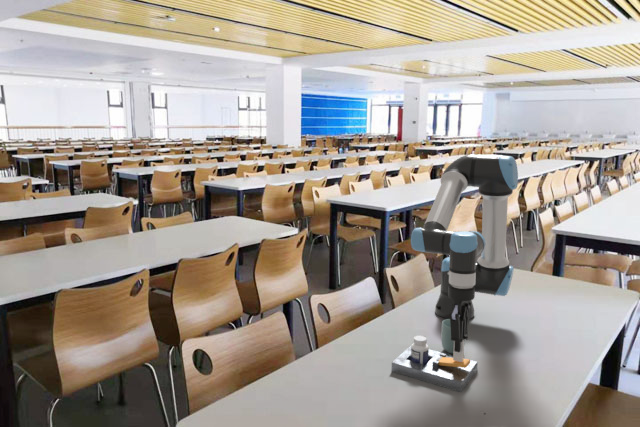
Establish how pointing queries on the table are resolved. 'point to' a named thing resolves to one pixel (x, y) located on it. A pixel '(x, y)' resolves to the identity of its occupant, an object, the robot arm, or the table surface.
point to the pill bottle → (419, 350)
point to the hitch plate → (434, 370)
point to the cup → (447, 336)
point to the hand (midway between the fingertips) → (458, 360)
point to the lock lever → (452, 362)
